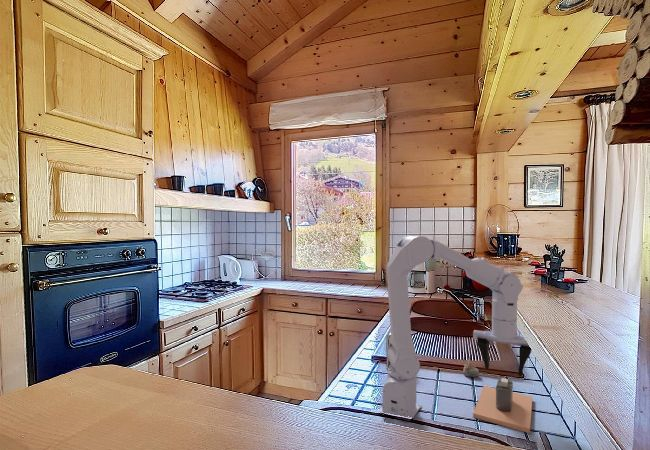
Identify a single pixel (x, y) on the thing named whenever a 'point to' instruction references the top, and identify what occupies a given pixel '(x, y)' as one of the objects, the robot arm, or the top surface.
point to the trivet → (513, 419)
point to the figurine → (470, 369)
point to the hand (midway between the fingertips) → (503, 371)
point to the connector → (504, 395)
